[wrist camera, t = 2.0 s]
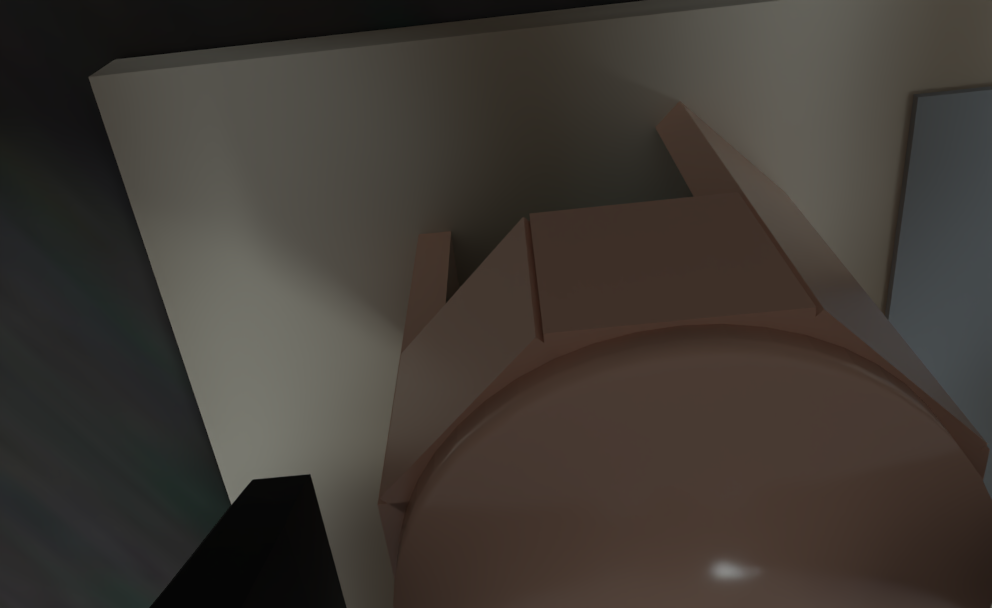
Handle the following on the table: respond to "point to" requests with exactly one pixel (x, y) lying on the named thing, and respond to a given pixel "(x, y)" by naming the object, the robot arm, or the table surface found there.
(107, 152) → the table surface
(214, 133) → the board
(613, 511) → the pink stool
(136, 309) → the table surface
